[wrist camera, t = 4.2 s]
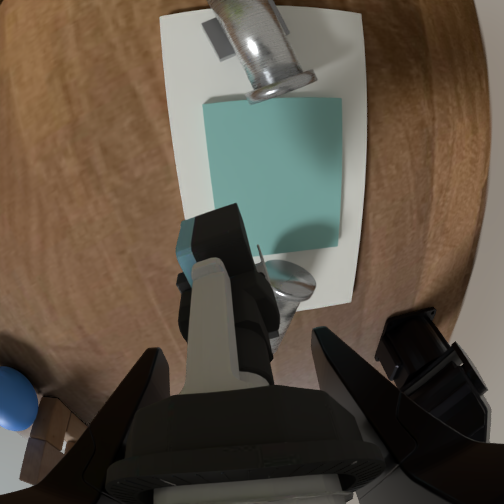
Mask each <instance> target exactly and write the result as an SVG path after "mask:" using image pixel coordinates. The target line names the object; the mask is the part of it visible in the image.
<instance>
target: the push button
mask: <svg viewBox="0 0 504 504" xmlns="http://www.w3.org/2000/svg"><path fill="white" fill-rule="evenodd" d="M257 248H258V251H259V255H260V259H261V262H260V263H257V264H255V263H254V260H253V257H252V253H251V249H250V245H249V241H248V237H247V233H246V229H245V226H244V222H243V219H242V216H241V213H240V210H239V207H238V205H237V203H233V204H230V205H227V206H224V207H221V208H218V209H215V210H212V211H210V212H207V213H204V214H201V215H198V216H195V217H193V218H190V219H187V220H184V221H182V222H181V229H180V233H179V237H178V241H177V245H176V256H177V259H178V262H179V264H180V266H181V268H182V270H183V272H182V273H179V274H178V277H177V283H176V285H177V287H178V289H179V291H180V293H181V301H180V308H179V317H178V324H179V329H180V332H181V334H182V336H183V338H184V339H185V340H186V342H187V344H188V348H187V365H186V381H185V385H184V387H183V389H182V391H181V392H180V393H179V394H178V395H173V396H170V397H168V398H165V399H163V400H161V401H158V402H156V403H153V404H151V405H148V406H146V407H143V408H141V409H139V410H138V411H137V412H136V413H135V415H134V419H133V422H132V425H131V429H130V432H129V435H128V439H127V443H126V452H125V459H123V460H119V461H117V462H115V463H113V464H112V465H110V466H109V468H108V469H107V475H106V484H105V489H106V491H107V492H108V493H109V494H110V495H111V496H113V497H114V498H116V499H118V500H119V501H121V502H123V503H126V504H346V502H348V501H350V500H351V499H353V492H355V491H357V490H359V489H361V488H362V487H364V486H366V485H367V484H369V483H371V482H372V481H373V480H375V479H376V478H377V477H378V476H380V475H381V474H382V473H383V471H384V470H385V468H386V464H385V461H384V458H383V456H382V453H381V450H380V448H379V447H378V446H377V445H375V444H373V443H370V442H366V441H363V439H362V436H361V433H360V430H359V428H358V425H357V422H356V419H355V417H354V416H353V415H352V414H351V413H350V412H349V411H347V410H346V409H345V408H344V407H343V406H342V405H340V404H339V403H338V402H337V401H336V400H335V399H333V398H332V397H331V396H330V395H329V394H328V393H326V392H325V391H322V390H313V389H305V388H297V387H289V386H282V385H274V380H273V375H272V370H271V365H270V362H271V361H272V360H273V353H272V348H271V344H270V339H273V338H276V337H279V331H278V330H279V327H280V313H279V309H278V306H277V302H276V299H275V295H274V292H273V289H272V287H271V282H270V279H269V275H268V271H267V268H266V265H265V261H264V258H263V255H262V252H261V249H260V246H259V244H258V245H257Z"/></svg>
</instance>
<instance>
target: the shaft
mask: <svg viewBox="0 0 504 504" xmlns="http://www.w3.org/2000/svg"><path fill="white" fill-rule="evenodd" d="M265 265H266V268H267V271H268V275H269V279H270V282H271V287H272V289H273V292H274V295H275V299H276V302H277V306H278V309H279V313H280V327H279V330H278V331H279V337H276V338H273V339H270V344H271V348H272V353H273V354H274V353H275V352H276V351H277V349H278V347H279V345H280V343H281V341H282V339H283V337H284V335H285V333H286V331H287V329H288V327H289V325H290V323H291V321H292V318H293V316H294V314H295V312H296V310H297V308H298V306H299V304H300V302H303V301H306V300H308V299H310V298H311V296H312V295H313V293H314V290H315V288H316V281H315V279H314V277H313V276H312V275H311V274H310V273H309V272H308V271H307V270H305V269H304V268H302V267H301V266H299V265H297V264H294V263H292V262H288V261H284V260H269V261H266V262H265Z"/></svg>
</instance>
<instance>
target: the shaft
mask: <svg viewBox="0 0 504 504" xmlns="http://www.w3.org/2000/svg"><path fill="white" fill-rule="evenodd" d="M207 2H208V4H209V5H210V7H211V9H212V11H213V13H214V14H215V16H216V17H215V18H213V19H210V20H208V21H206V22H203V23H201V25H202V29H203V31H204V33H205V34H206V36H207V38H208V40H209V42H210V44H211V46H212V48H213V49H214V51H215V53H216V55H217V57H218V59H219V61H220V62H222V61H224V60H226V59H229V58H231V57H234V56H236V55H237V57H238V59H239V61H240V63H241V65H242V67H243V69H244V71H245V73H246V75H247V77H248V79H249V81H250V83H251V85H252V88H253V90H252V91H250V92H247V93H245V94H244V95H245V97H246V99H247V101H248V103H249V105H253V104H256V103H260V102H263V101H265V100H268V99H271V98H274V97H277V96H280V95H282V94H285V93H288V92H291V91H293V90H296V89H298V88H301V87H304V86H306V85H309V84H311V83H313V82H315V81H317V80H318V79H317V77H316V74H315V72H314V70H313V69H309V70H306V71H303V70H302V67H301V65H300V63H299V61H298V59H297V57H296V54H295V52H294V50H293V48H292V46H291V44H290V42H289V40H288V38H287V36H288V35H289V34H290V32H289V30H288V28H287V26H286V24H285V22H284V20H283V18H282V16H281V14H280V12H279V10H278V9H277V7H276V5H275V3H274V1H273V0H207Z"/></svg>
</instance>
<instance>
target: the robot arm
mask: <svg viewBox="0 0 504 504" xmlns="http://www.w3.org/2000/svg"><path fill="white" fill-rule="evenodd" d="M435 313H436V309H435V308H434V307H431V308H427V309H424V310H420V311H416V312H412V313H408V314H404V315H400V316H396V317H392V318H389V319H388V320H387V321H386V323H385V326H384V329H383V333H382V336H381V339H380V342H379V345H378V348H377V351H376V354H375V357H374V358H375V360H376V361H380V362H381V364H382V366H383V368H384V370H385V372H386V374H387V376H388V378H389V380H390V381H393V380H394V382H395V384H396V386H397V387H396V386H395V385H393V384H392V383H391V382H390V381H389V380H388V379H386V378H385V377H384V376H383V375H382V374H381V373H379V372H378V371H377V370H376V369H375V368H374V367H372V366H371V365H370V364H369V363H368V362H367V361H365V360H364V359H363V358H362V357H361V356H360V355H359V354H357V353H356V352H355V351H354V350H353V349H352V348H350V347H349V346H348V345H347V344H346V343H345V342H343V341H342V340H341V339H340V338H339V337H338V336H337V335H335V334H334V333H333V332H332V331H331V330H330V329H328V328H327V327H326V326H321V327H316V328H313V330H312V339H311V350H312V355H313V359H314V364H315V368H316V373H317V377H318V382H319V386H320V390H322V391H325V392H326V393H328V394H329V395H330V396H331V397H332V398H333V399H335V400H336V401H337V402H338V403H339V404H340V405H342V406H343V407H344V408H345V409H346V410H347V411H349V412H350V413H351V414H352V415H353V416H354V417H355V419H356V422H357V425H358V428H359V430H360V433H361V436H362V439H363V441H366V442H370V443H373V444H375V445H377V446H378V447H379V448H380V450H381V453H382V456H383V458H384V461H385V464H386V468H385V470H384V471H383V473H382V474H381V475H380V476H378V477H377V478H376V479H375V480H373V481H372V482H371V483H369V484H367V485H366V486H364V487H362V488H361V489H359V490H357V491H356V494H357V497H358V499H359V503H360V504H504V444H496V443H490V442H489V438H490V426H491V407H490V405H489V404H488V402H487V401H486V399H485V397H484V395H483V394H484V393H485V392H486V391H488V389H487V387H486V385H485V383H484V381H483V379H482V378H481V376H480V374H479V372H478V370H477V369H476V367H475V366H474V364H473V363H472V361H471V360H470V358H469V357H468V356H467V354H466V353H465V352H464V351H463V349H462V348H461V347H460V346H459V345H458V344H457V343H456V341H455V342H454V343H453V344H452V346H451V347H450V345H449V344H448V342H447V341H446V340H445V338H444V337H443V335H442V334H441V332H440V331H439V330H438V328H437V327H436V326H435V324H434V323H433V318H434V316H435ZM462 363H463V365H462V366H459V365H460V364H462ZM168 397H170V382H169V365H168V362H167V360H166V358H165V356H164V354H163V352H162V350H161V348H159V347H155V348H148V349H146V351H145V352H144V353H143V355H142V356H141V357H140V358H139V360H138V361H137V362H136V364H135V365H134V366H133V367H132V369H131V370H130V371H129V373H128V374H127V375H126V377H125V378H124V379H123V381H122V382H121V383H120V384H119V386H118V387H117V388H116V390H115V391H114V392H113V394H112V395H111V396H110V398H109V399H108V400H107V402H106V403H105V404H104V406H103V407H102V408H101V410H100V411H99V412H98V414H97V415H96V416H95V418H94V419H93V420H92V422H91V423H90V424H89V427H87V428H86V430H85V431H84V432H83V434H82V435H81V436H80V438H79V439H78V440H77V441H76V443H75V444H74V445H73V447H72V448H71V449H70V450H69V451H68V452H67V453H66V455H65V456H64V457H63V458H62V459H61V460H60V461H59V462H58V463H57V464H56V465H55V467H54V468H53V469H52V470H51V471H50V472H49V473H48V474H47V475H46V476H45V477H44V478H43V479H42V480H41V481H40V482H39V483H37V484H36V485H34V486H32V487H29V488H26V489H23V490H19V491H15V492H11V493H7V494H3V495H0V504H126V503H123V502H121V501H119V500H118V499H116V498H114V497H113V496H111V495H110V494H109V493H108V492H107V491H106V489H105V484H106V475H107V469H108V468H109V466H110V465H112V464H113V463H115V462H117V461H119V460H123V459H125V452H126V443H127V439H128V435H129V432H130V429H131V425H132V422H133V419H134V415H135V413H136V412H137V411H138V410H139V409H141V408H143V407H146V406H148V405H151V404H153V403H156V402H158V401H161V400H163V399H165V398H168Z"/></svg>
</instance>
